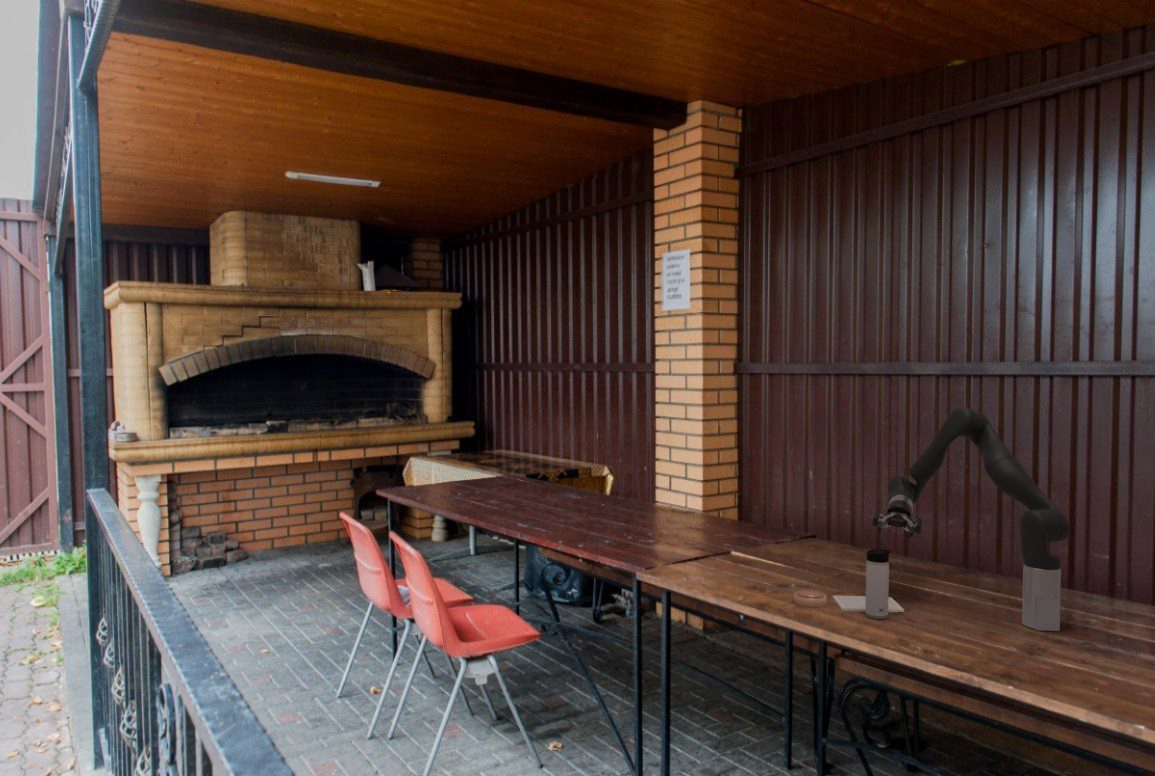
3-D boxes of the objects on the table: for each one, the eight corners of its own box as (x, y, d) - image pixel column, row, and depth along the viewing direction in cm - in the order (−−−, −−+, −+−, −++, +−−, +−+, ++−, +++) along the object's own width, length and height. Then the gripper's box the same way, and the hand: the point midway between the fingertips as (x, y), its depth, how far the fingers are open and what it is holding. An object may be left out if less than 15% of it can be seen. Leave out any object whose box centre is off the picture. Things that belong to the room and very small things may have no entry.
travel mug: (886, 621, 232) (888, 552, 232) (863, 617, 236) (864, 549, 235) (891, 615, 238) (892, 548, 237) (868, 611, 241) (869, 545, 240)
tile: (904, 612, 240) (904, 609, 240) (842, 610, 242) (842, 607, 242) (891, 599, 253) (891, 596, 253) (832, 597, 255) (832, 595, 255)
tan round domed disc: (830, 607, 245) (830, 598, 245) (796, 606, 246) (796, 597, 246) (823, 598, 255) (823, 588, 255) (791, 597, 256) (791, 587, 256)
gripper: (877, 496, 262) (871, 517, 248) (924, 503, 256) (921, 525, 242) (875, 516, 264) (869, 539, 250) (922, 524, 258) (919, 548, 244)
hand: (895, 532), depth 246 cm, fingers open, 8 cm apart
